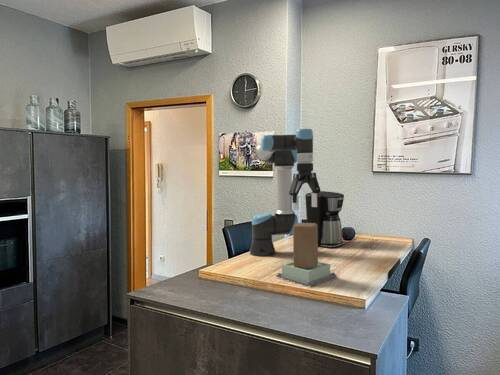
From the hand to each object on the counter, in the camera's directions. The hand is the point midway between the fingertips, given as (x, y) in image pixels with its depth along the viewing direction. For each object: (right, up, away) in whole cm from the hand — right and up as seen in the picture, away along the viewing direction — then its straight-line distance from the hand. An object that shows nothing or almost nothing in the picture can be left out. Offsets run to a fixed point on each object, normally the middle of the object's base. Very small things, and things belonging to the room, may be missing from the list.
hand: (305, 208), depth 182 cm
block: (+1, -28, +2) cm, 28 cm away
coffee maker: (+21, -27, +74) cm, 81 cm away
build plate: (+1, -33, +3) cm, 33 cm away
